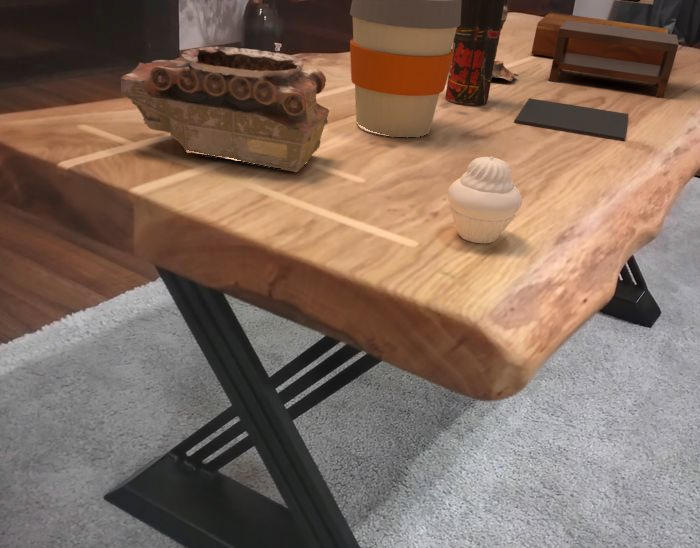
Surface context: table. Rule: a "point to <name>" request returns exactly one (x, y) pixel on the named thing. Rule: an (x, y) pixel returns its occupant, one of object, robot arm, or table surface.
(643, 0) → the cream arch-topped block
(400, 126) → the reusable coffee cup
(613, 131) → the mat
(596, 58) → the rack
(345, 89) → the table surface
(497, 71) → the plant with pod
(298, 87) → the toy armored vehicle
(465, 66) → the deodorant
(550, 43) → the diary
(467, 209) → the muffin
